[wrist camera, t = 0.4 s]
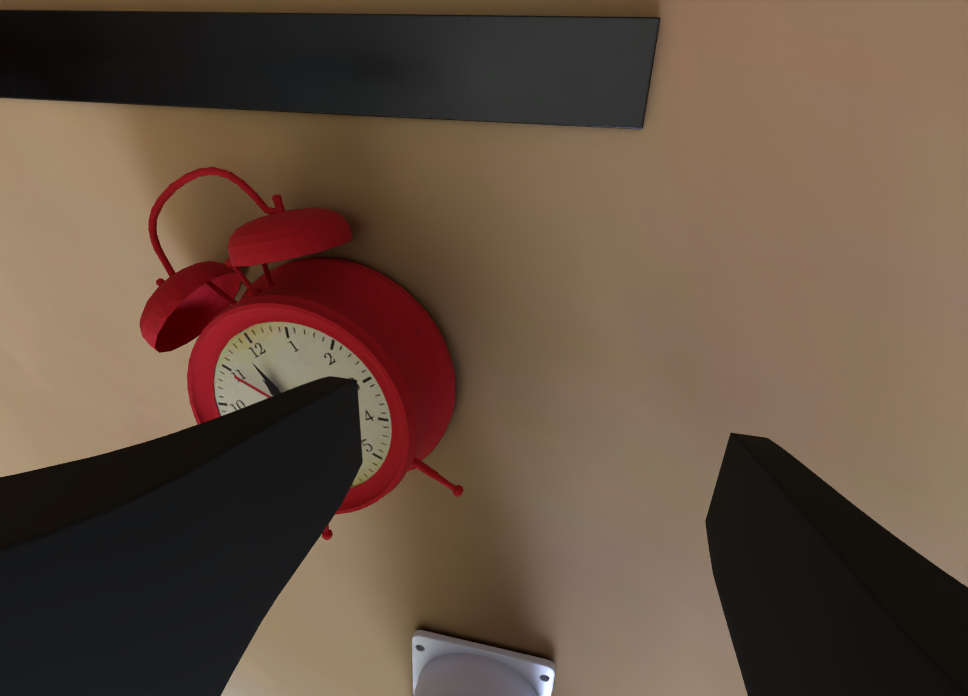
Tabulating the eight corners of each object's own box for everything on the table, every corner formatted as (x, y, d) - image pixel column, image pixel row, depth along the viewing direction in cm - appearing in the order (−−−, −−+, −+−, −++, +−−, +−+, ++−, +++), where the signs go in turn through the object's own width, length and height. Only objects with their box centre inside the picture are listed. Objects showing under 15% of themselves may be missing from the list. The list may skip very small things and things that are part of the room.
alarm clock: (301, 565, 22) (-25, 314, 16) (345, 460, 28) (113, 237, 21) (498, 501, 19) (179, 135, 12) (507, 393, 24) (287, 95, 17)
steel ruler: (641, 129, 16) (642, 129, 16) (-84, 93, 21) (-95, 93, 21) (659, 19, 15) (661, 17, 15) (-115, 10, 20) (-128, 8, 20)
